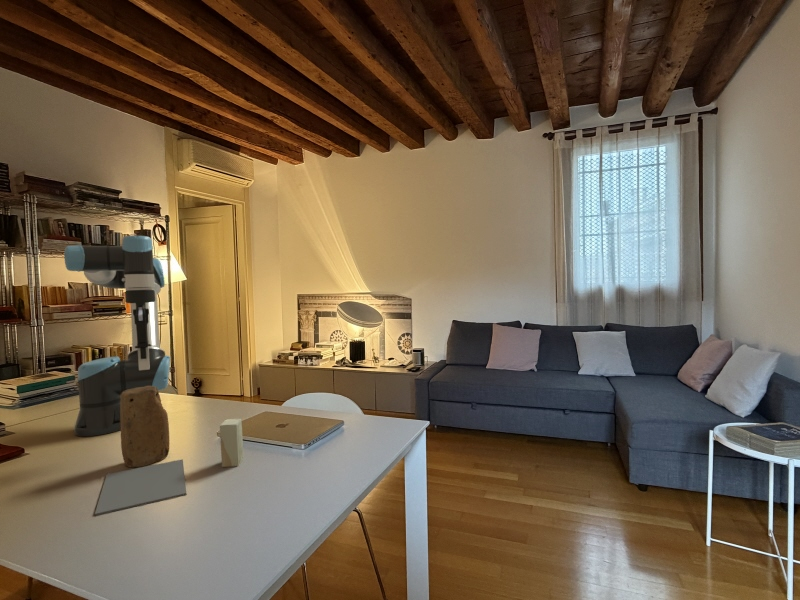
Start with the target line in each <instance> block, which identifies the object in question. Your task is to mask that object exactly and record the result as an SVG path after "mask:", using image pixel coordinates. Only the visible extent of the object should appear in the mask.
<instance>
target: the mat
mask: <svg viewBox="0 0 800 600" xmlns="http://www.w3.org/2000/svg"><path fill="white" fill-rule="evenodd" d="M184 469H185V468H184V459H177V460H172V461H167V462H162V463H157V464H156V463H155V464H152V465H151V464H150V465H146V466H142V467H134V468H132V469H125V470H121V471H115V472H112V473H107V474H106V475H105V479H104V482H103V486H102V489H101V492H100V495H99V499H98V502H97V506H96V509H95V511H94V517H96V516H99V515H104V514H105V515H106V514H109V513H112V512H117V511H122V510H126V509H131V508H134V507H138V506H144V505H148V504H152V503H157V502H160V501H165V500H166V501H167V500H171V499H173V498H178V497H183V496H187V494H188V493H187V486H186V477H185V470H184Z"/></svg>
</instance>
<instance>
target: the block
mask: <svg viewBox="0 0 800 600" xmlns="http://www.w3.org/2000/svg"><path fill="white" fill-rule="evenodd" d="M120 422H121V430H120V447H121V455H122V459H123V461H124V464H125V466H126V467H128V468H141V467H146V466H150V465H151V464H152V465H153V464H154V463H157V462H160V461H162V460H164V459H165V458H166V457H168V455H169V452H170V426H169V415H168V413H167V410H166V409H165V407H164V406H163V404H162V400H161V396H160V393H159V390H158V389H157V387H155V386H145V387H137V388H133V389H128V390H125V391H123V392H122V393H121V405H120Z"/></svg>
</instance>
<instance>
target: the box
mask: <svg viewBox="0 0 800 600" xmlns="http://www.w3.org/2000/svg"><path fill="white" fill-rule="evenodd" d="M242 425H243V424H242V418H230V419H229V418H228V419H225V420H223V422H221V423H220V425H219V433H220V434H219V435H220V438H219V439H220V453H221V455H220V456H221V468H226V467H227V468H231V467H239V466H240V465H241V463H242V461H243V460H244V445H243V426H242Z"/></svg>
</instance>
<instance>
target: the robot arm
mask: <svg viewBox="0 0 800 600" xmlns="http://www.w3.org/2000/svg"><path fill="white" fill-rule="evenodd" d="M153 249H154V247H153V239H152V238H151V237H149V236H146V235H125V236H123V237H122V245H81V244H78V245H67V246H65V248H64V253H63V255H64V264H65V269H66V270H67V271H69V272H78V273H79V272H83V275H84V276H85V278H86V279H87V281H89V282H90V283H91V284H94V285H96V286H99V287H102V288H103V287H104V288H109V289H113V290H114V289H117V290H118V289H119V290H120V289H125V291H124V294H125V295H124V298H125V299H124V300H125V303H126V304H130V315H131V316H130V317H131V320H130V321H131V322H130V323H131V343H132V344H131V346H132V349H131V351H130V352H129V353H128V354H127V359H123V360H122V359H121V358H120V357H119V356H118V355H117V356H108V357H103V358H97V359H94V360H90V361H87V362H84V363H82V364H80V365H79V366H78V368H77V379H76V380H77V382H78V383H77V385H78V396H79V397H78V398H79V400H78V401H79V411H78V415H77V418H76V421H75V423H74V435H75V436H79V437H94V436H102V435H106V434H110V433H114V432H118V431H121V422H120V405H121V393H122V392H123V391H125V390H128V389H133V388H137V387H145V386H155V387H157V389H158V391H161V390H164V389H166V388H167V387H168V385H169V378H170V377H169V375H170V364H171V363H170V362H171V356H169V355H166V352H165V350H164V349H162V347H161V343H160V342H161V341H160V327H159V311H158V310H159V309H158V294H160V293H161V290H162V288H164V287H165V285H166V283H165V277H164V269H163V265H162V262H161V261H160V260H159V259H158V258H154V253H153Z"/></svg>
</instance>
